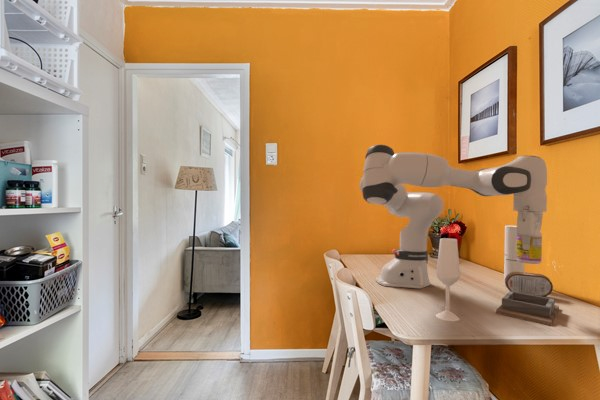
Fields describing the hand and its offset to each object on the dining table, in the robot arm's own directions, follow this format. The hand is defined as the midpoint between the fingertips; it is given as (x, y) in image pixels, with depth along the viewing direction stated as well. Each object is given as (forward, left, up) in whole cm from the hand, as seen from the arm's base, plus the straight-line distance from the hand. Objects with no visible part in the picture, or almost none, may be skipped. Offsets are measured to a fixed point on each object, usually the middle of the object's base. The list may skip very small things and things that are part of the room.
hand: (528, 248), depth 105 cm
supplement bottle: (0, 0, -5) cm, 5 cm away
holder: (0, 0, -20) cm, 21 cm away
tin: (+12, +18, -21) cm, 30 cm away
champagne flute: (-29, -7, -21) cm, 36 cm away
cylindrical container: (+16, +33, -21) cm, 42 cm away
